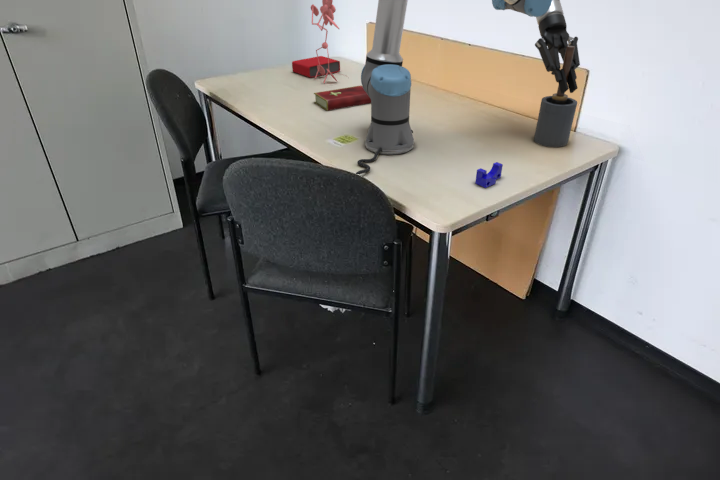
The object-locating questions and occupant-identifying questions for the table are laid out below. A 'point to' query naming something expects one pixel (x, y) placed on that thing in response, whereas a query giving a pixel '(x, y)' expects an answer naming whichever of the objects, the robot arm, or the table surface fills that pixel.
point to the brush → (559, 97)
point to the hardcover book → (342, 98)
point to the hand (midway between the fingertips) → (569, 90)
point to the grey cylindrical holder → (554, 122)
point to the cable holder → (489, 175)
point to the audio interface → (315, 66)
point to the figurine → (328, 16)
